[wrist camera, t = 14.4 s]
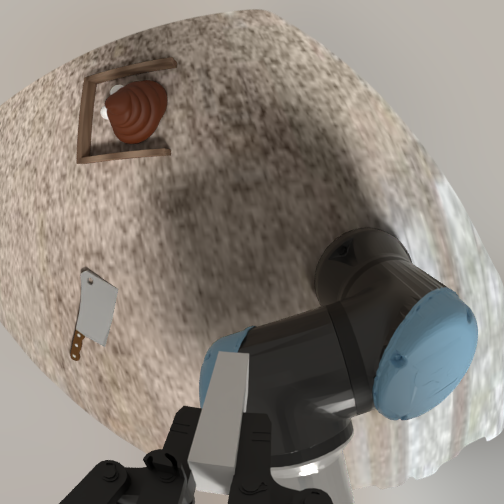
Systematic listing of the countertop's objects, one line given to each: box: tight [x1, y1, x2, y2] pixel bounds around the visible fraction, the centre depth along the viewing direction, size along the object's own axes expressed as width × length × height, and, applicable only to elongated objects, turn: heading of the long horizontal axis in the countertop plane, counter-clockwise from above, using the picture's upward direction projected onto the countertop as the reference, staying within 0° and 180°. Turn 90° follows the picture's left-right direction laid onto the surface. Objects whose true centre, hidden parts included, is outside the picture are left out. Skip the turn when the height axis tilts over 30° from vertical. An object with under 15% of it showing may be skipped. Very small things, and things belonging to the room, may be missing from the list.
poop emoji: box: [100, 80, 167, 144], centre depth 30 cm, size 10×8×9 cm
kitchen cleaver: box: [70, 269, 118, 361], centre depth 45 cm, size 24×1×10 cm
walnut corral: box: [77, 57, 177, 164], centre depth 33 cm, size 16×15×2 cm
